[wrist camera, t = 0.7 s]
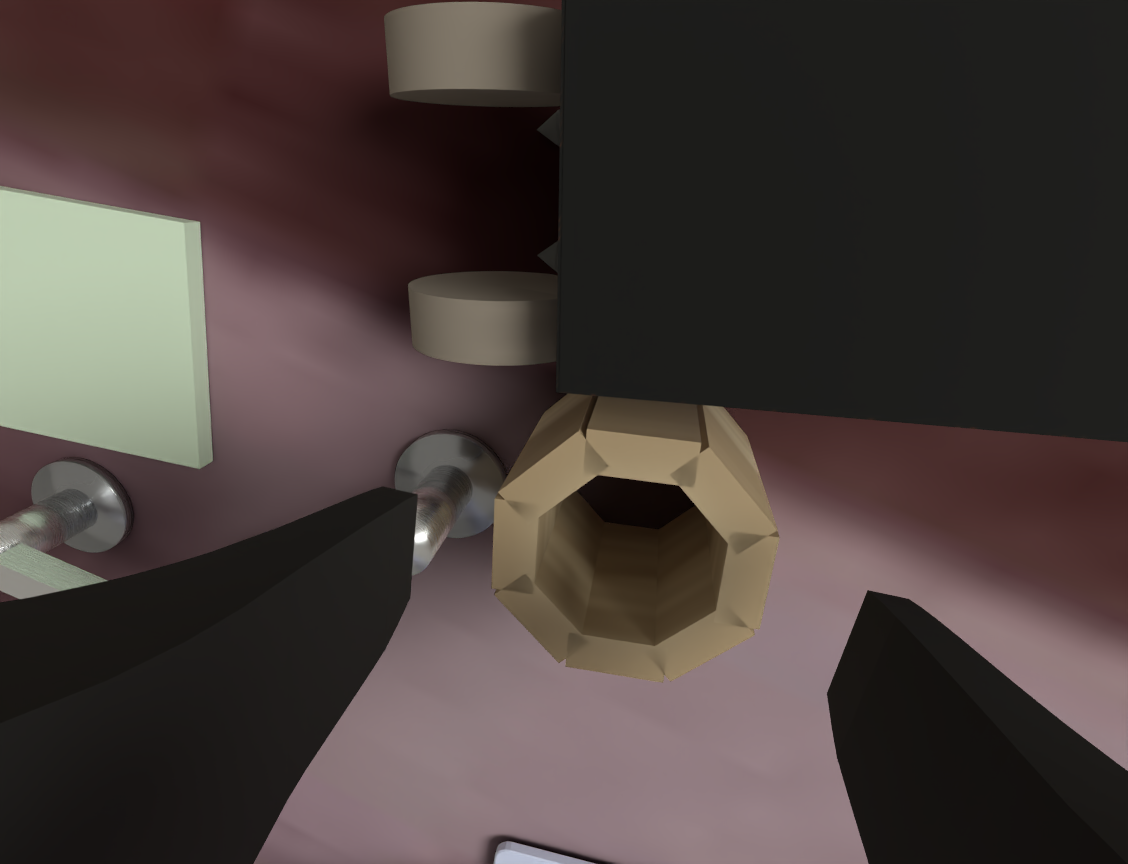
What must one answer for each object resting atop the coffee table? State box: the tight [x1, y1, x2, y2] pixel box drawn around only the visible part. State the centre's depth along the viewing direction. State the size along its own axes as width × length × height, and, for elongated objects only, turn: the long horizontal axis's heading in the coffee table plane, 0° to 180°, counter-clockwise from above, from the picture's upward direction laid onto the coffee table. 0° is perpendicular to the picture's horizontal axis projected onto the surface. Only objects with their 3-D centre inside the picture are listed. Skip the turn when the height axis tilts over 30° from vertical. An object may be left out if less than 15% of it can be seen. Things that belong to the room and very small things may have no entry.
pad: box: [0, 186, 213, 469], centre depth 18 cm, size 7×7×1 cm
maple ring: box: [491, 393, 779, 683], centre depth 15 cm, size 6×6×5 cm
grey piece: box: [0, 430, 506, 599], centre depth 18 cm, size 8×15×4 cm, turn 81°
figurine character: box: [384, 0, 1128, 442], centre depth 12 cm, size 7×8×15 cm
